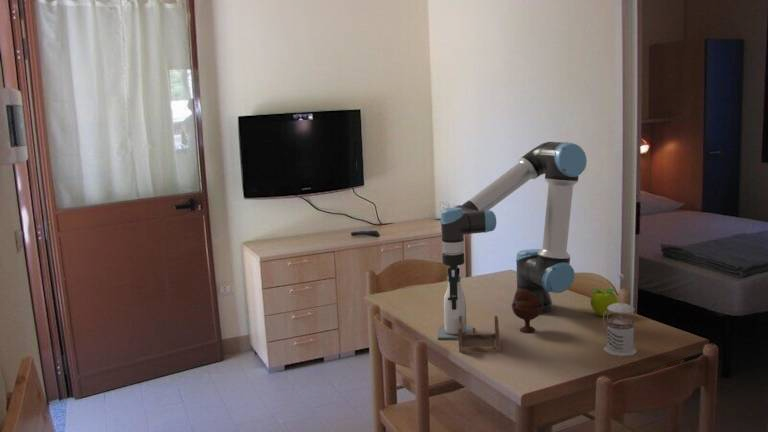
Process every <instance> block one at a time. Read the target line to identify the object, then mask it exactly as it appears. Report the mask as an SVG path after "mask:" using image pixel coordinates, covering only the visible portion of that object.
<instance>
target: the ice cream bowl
mask: <svg viewBox="0 0 768 432" xmlns="http://www.w3.org/2000/svg"><path fill="white" fill-rule="evenodd" d="M514 296H515V300H516V302H514V303H513V302H512V303H511V304H510V305H511V308H512V311H513V314H514V315H515V316H516V317H518V318H519V319H521V320H523V321H524V325H523V326H522V327H520V328H519V332H520V333H522V334H533V333H536V329H535V328H534V327H533V326H531V323H530V322H531V321H532V320H535V319H536V318H538V317H539V316H540V315H541V314H542V313H541V312H542V310H543V304H542V303H540V300H539V298H538V296H537V295H536V294H534V293H531V292H529V291H528V290H525V289H520V290H518V291H517V292H516V291H515V294H514Z"/></svg>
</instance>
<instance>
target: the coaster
mask: <svg viewBox="0 0 768 432" xmlns="http://www.w3.org/2000/svg"><path fill="white" fill-rule="evenodd" d="M466 326H467V330H466V332H465V333H463V334H474V325H466ZM444 340H445V341H446V340H448V341H451V340H452V341H456V340H457V341H459V336H458V334H448V333H446V332H445V326H444V325H439V327H438V336H437V341H444ZM464 340H467V341H472V340H474V339H473V337H463V341H464Z"/></svg>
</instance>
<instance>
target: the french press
mask: <svg viewBox="0 0 768 432" xmlns="http://www.w3.org/2000/svg"><path fill="white" fill-rule="evenodd" d="M617 278H619V279H624V278H625V274H623V273H619V274H618V275H617ZM619 299H620V300H619V301H620V302H617V303H615V304H611V305H610V306H608V307H607V309H608V310H609V312H608V314H609V313H610V311H611V312H613V313H610V315H614V314H619V315H620V316H616V317H615V316H614V317H611V318H609V315H608V314H607V316H606V319H607V320H606V321H607V326H606V324H605V316H604V315H605V313H606V311H608V310H606V311H605V313H604V315H603V316H602V321H603V326H604V328H605V330H607V331H606V332H607V341H606V342H607V344H606V346H605V347H604V348H603V349H604V351H605V352H606V353H608V354H610V355H613V356H622V357H624V356H625V357H626V356H627V357H628V356H633V355H635V354H637V352H636V351H637V349H636V348H635V346H634V340H635V339H634V337H635V335H634V333H635V332H634V331H635V330H634V328H635V327H634V325H633V320H632V319H631V318H626V317H622V314H623V315H624V314H625V315H627V314H632V313H634V311H635V310H636V309H635V308H634V306H631V305H630V304H627V303H625V302H622V296H620V298H619ZM625 326H626V327H625ZM629 327H630V328H629Z"/></svg>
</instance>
